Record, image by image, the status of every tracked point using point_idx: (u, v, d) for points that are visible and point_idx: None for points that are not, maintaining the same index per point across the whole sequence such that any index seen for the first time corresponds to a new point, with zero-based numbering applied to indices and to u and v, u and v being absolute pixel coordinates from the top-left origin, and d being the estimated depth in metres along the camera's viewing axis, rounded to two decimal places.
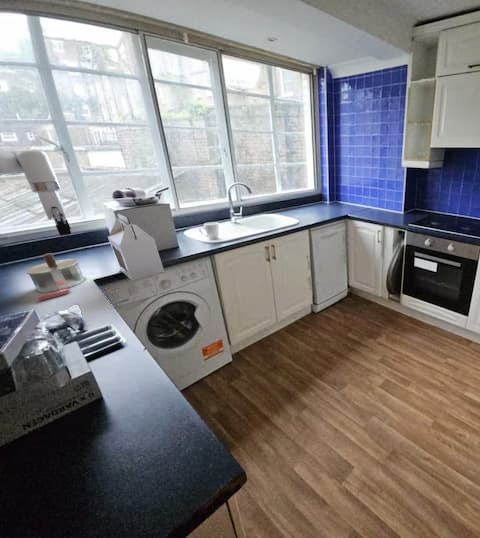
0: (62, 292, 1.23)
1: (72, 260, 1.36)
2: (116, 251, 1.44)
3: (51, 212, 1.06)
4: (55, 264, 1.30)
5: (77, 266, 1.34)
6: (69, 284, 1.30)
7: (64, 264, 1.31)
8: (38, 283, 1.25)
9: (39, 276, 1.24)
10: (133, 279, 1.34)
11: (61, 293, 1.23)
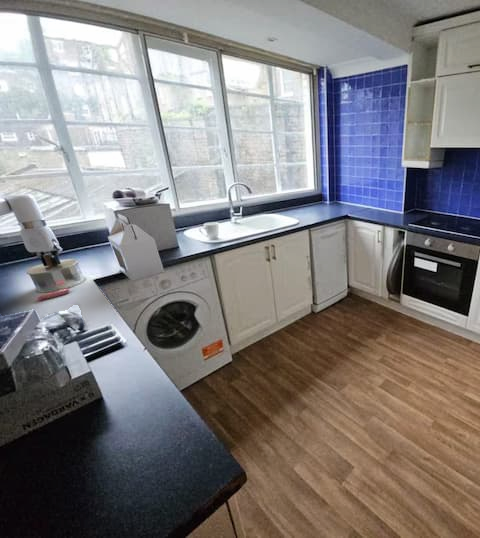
0: (62, 291, 1.23)
1: (72, 260, 1.36)
2: (116, 251, 1.44)
3: (52, 244, 1.25)
4: None
5: (77, 266, 1.34)
6: (69, 284, 1.30)
7: (64, 264, 1.31)
8: (38, 283, 1.25)
9: (39, 276, 1.24)
10: (133, 279, 1.34)
11: (61, 292, 1.23)
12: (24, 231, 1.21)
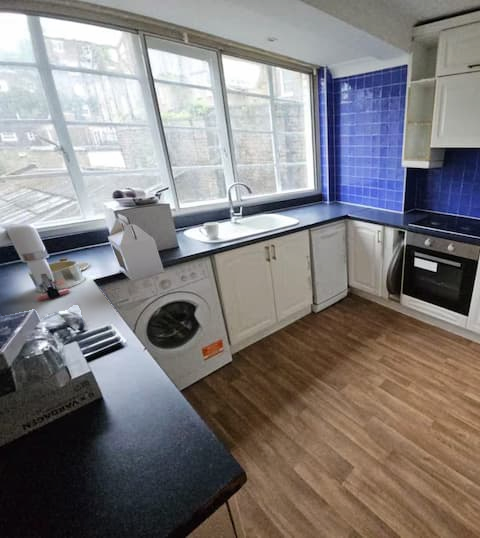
0: (62, 291, 1.23)
1: (84, 263, 1.54)
2: (116, 251, 1.44)
3: (41, 279, 1.14)
4: None
5: (77, 266, 1.34)
6: (69, 284, 1.30)
7: None
8: None
9: None
10: (133, 279, 1.34)
11: (61, 292, 1.23)
12: None
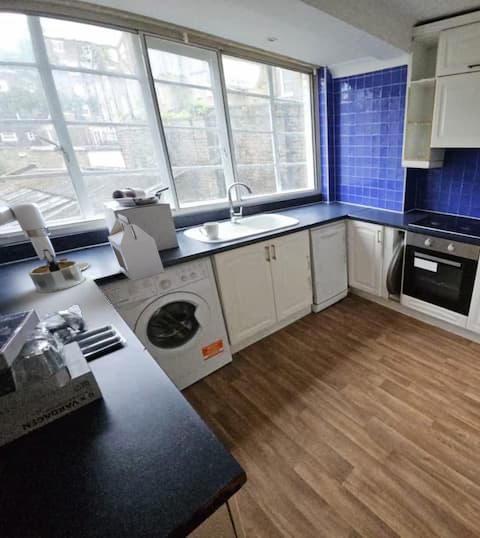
0: None
1: (84, 263, 1.54)
2: (116, 251, 1.44)
3: (43, 254, 1.24)
4: None
5: (77, 266, 1.34)
6: (69, 284, 1.30)
7: None
8: (38, 283, 1.25)
9: (39, 276, 1.24)
10: (133, 279, 1.34)
11: None
12: None
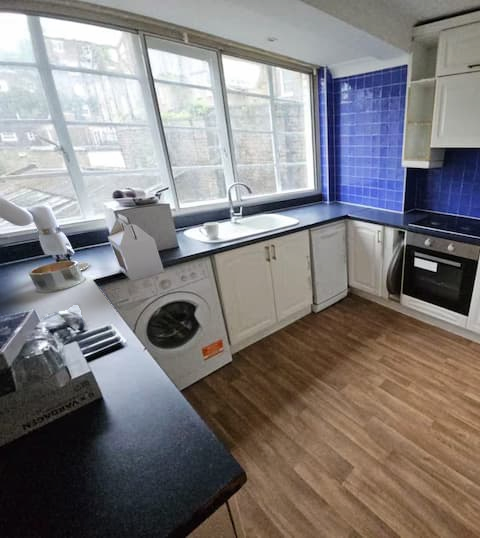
0: None
1: (84, 263, 1.54)
2: (116, 251, 1.44)
3: (66, 248, 1.43)
4: None
5: (77, 266, 1.34)
6: (69, 284, 1.30)
7: None
8: (38, 283, 1.25)
9: (39, 276, 1.24)
10: (133, 279, 1.34)
11: None
12: (42, 237, 1.39)
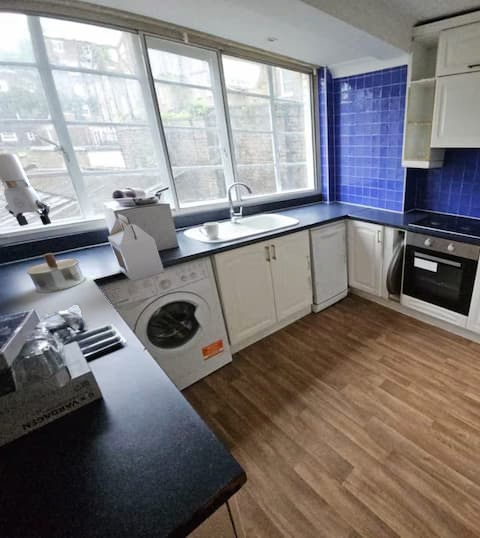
0: None
1: (72, 260, 1.36)
2: (116, 251, 1.44)
3: (36, 205, 1.25)
4: (55, 264, 1.30)
5: (77, 266, 1.34)
6: (69, 284, 1.30)
7: (64, 264, 1.32)
8: (38, 283, 1.25)
9: (39, 276, 1.24)
10: (133, 279, 1.34)
11: None
12: (7, 191, 1.21)
